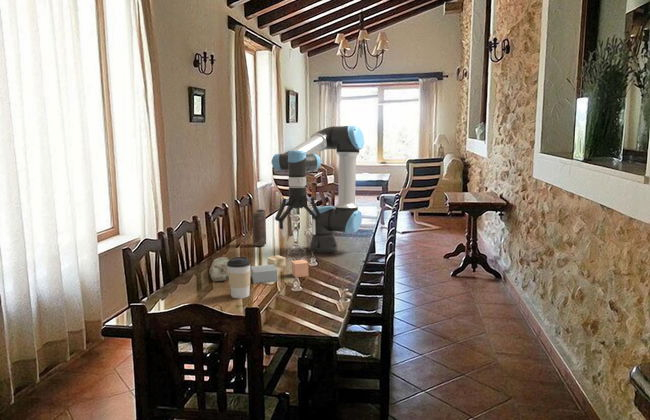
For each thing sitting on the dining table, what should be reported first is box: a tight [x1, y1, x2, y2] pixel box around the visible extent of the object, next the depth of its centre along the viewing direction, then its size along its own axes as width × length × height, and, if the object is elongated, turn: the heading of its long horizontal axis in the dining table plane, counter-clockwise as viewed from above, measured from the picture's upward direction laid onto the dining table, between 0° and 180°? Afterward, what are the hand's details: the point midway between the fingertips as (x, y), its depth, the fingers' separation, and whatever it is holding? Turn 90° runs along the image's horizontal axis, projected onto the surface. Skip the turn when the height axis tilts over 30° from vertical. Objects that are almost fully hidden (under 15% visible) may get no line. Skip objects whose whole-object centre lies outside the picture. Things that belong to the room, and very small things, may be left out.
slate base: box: [250, 264, 279, 284], centre depth 210 cm, size 10×10×5 cm
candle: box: [252, 209, 267, 247], centre depth 270 cm, size 8×7×20 cm
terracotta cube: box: [290, 259, 310, 278], centre depth 215 cm, size 6×6×6 cm
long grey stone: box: [208, 256, 230, 282], centre depth 223 cm, size 35×5×10 cm
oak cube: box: [266, 255, 287, 273], centre depth 223 cm, size 6×6×6 cm
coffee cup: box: [227, 256, 252, 299], centre depth 189 cm, size 9×9×15 cm
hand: (298, 235), depth 213 cm, fingers open, 13 cm apart
